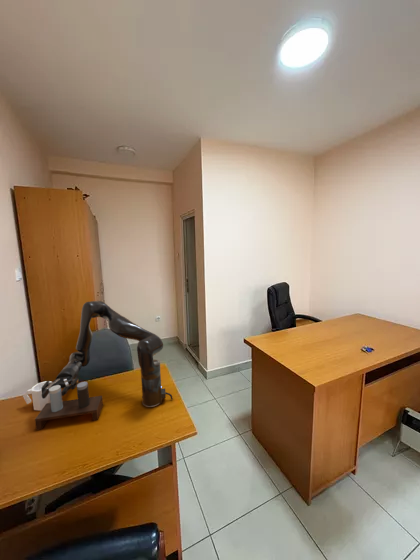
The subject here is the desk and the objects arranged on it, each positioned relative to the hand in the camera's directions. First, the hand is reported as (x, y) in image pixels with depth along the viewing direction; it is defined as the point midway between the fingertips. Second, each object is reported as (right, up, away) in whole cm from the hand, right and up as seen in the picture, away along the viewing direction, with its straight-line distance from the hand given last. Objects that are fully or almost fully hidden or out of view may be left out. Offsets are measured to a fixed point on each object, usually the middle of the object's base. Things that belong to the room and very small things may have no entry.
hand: (53, 395), depth 97 cm
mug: (-16, -12, +13) cm, 23 cm away
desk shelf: (+5, -12, +5) cm, 14 cm away
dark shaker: (+10, -7, +6) cm, 14 cm away
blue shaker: (0, -8, +3) cm, 8 cm away
